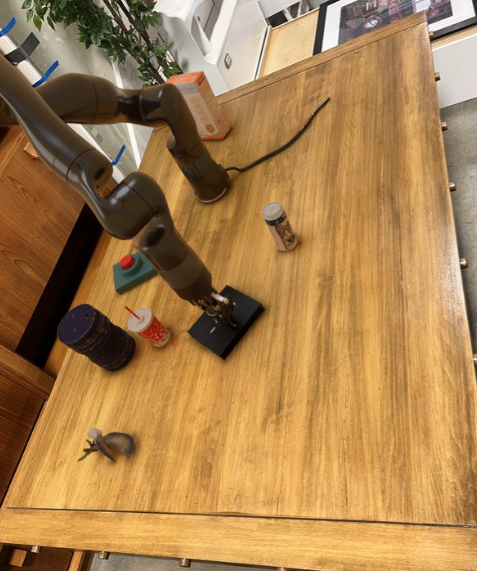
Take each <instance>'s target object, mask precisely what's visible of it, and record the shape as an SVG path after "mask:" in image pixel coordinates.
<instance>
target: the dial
mask: <svg viewBox="0 0 477 571" xmlns="http://www.w3.org/2000/svg"><path fill="white" fill-rule="evenodd" d="M212 306H213V305H212ZM220 310H221V308H219V311H220ZM206 313H207V314H208V315H209V316H210V318H211V319H212V320H213V321H214V322H215V323H216V324H217V325H219V326H223V325H226V324H225V323H224V321H223V320H222V319H221V318H220V316H219V315H218V314H217V313H215V312H211V311H210V310H209V309H208V308H207V307H206Z"/></svg>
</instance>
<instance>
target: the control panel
mask: <svg viewBox="0 0 477 571" xmlns="http://www.w3.org/2000/svg"><path fill="white" fill-rule="evenodd" d="M218 293H219V294H220V295H221V296H222V297H225V295H226V294H227V295H229V296H230V297H231V298H232V301H233V305H234V310H233V312H232V313H231V314H232V315H233V316H234V319H233V321H232V322H231V324H230V325H227V324H226V325H223V326H219V325H217V324H216V323H215V322H214V321H213V320H212V319H211V318H209V317H208V315H207V314H206V313H205V312H204V311H203V312H202V313H201V315H199V316H198V318H197V319H196V320H195V321H194V322H193V324H192V325H191V326H190V327H189V329H188V330H187V331H186V333H187V334H188V335H189V336H191V338H192V339H194V340H195V341H197V343H200V345H202V346H204V347H205V348H206V349H207V350H209V351H211V352H212V353H214V355H216V356H217V357H218V358H220V359H222V361H224V362H225V361H226V360H227V358H228V357H229V355H231V353H232V352H233V351H234V350H235V348H236V347H237V346H238V344H240V342H241V340H242V339H243V338H244V337H245V336H246V334H247V333H248V332H249V330H250V329H251V328H252V327H253V325H254V324H255V323H256V321H257V320H258V319H259V318H260V317H261V315H262V314H263V313H264V311H265V310H266V308H265V307H264V305H263V304H262V302H259V301H258V300H256V299H254V298H252V296H248V294H245V293H243V292H242V291H239V290H238V289H236V288H234V287H232V286H230V285H228V284H226V285H224V287H223V288H222V289H221V291H220V292H218Z"/></svg>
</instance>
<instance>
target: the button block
mask: <svg viewBox="0 0 477 571" xmlns="http://www.w3.org/2000/svg"><path fill="white" fill-rule="evenodd" d="M129 255H130V256H131V257H132V258H133V259H134V261H135V262H134V265H133V266H132V267H131V268H129V269H124V268H123V267H122V266H121V265H120V261H118V262H117V263H115V264H113V265H112V273H113V274H112V275H113V284H114V291H115V292H116V293H118V294H119V295H122V294H123V293H125V292H127V291H129V290H131V289H133V288H134V287H136V286H138V285H140V284H142V283H143V282H145V281H147V280H150V279H151V278H153V277H154V276H156V275H158V274H159V273H158V271H157V270H156V268H155V267H154V266H153V265H152V264H151V263H150V262H149V261H148V259H147V258H146V257H145V256H144V255H143V254H142V253H141V251H140V250H138V251H136V252H134V253H129Z"/></svg>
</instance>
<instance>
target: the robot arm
mask: <svg viewBox="0 0 477 571" xmlns="http://www.w3.org/2000/svg"><path fill="white" fill-rule="evenodd" d="M328 97H329V98H328V99H327V100H326V101H325V102H324V100H323V101H322V102H321V103H320V104H319V105H318V107H319V106H320V105H321V104H322V103H323V102H324V103H323V104H322V105H321V106H320V107H319V108H318V107H317V108H318V109H317V108H316V109H317V110H316V109H315V110H316V111H315V110H314V111H315V112H314V111H313V112H314V114H313V115H312V114H311V115H312V116H311V115H310V116H311V118H310V116H309V117H308V119H309V118H310V119H309V121H308V119H307V120H306V122H307V121H308V122H307V124H306V122H305V123H304V125H305V124H306V125H305V126H304V125H303V126H304V128H303V129H302V128H301V129H302V130H301V129H300V130H301V131H300V130H299V131H297V133H296V134H295V135H294V136H293V137H292V138H291V139H290V140H289V141H287V142H286V143H285V144H284V145H282V146H281V147H279V148H278V149H276V150H273V151H272V152H270V153H267V154H266V155H263V156H262V157H260V158H258V159H257V160H255V161H254V162H252V163H250V164H249V165H247V166H245V167H242V168H239V167H237V166H231V167H226V168H225V167H224V166H223V165H222V164H220V163H217V161H216V160H215V159H214V158H213V156H212V155H211V153H210V151H209V149H208V147H207V146H206V144H205V142H204V140H202V138H201V136H200V134H199V132H198V129H197V125H196V122H195V119H194V117H193V115H192V113H191V111H190V109H189V107H188V104H187V102H186V100H185V98H184V96H183V94H182V93H181V91H180V90H179V89H178V87H177V86H175V85H174V84H172V83H166V82H165V83H160V84H156V85H151V86H147V87H143V88H122V87H118V86H117V85H116V84H115V83H113V82H112V81H110V80H109V79H107V78H105V77H101V76H98V75H92V74H88V73H81V72H66V73H64V74H60V75H58V76H56V77H54V78H53V77H52V79H50V80H47V81H45V82H44V83H42V84H40V85H38V86H36V87H34V86H32V85H31V83H29V81H28V80H27V79H26V78H25V77H24V76H23V75H22V74H21V73H20V71H19V70H18V69H17V68H16V67H15V66H14V65H13V63H11V62H10V60H8V59H7V58H5V57H4V56H3V55H2V54H0V127H12V126H20V127H21V129H22V131H23V133H24V135H25V137H26V138H27V140H28V142H29V143H30V145H31V147H32V149H33V151H34V152H35V153H36V155H37V157H38V158H39V159H40V161H41V162H42V163H43V165H45V166H46V167H47V168H48V169H49V170H50V171H51V172H52V173H53V174H54V175H56V176H57V177H58V178H59V179H60V180H61V181H63V182H64V183H65V184H67V185H68V186H69V187H70V188H71V189H72V190H73V191H75V192H76V193H77V194H78V195H79V196H80V197H81V198H82V200H83V201H84V203H85V204H86V205H87V206H88V208H90V210H91V212H92V213H93V215H94V217H95V218H96V219H97V221H98V222H99V224H100V226H101V227H102V228H103V229H104V231H105V232H106V233H107V234H108V235H109V236H110V237H112V238H114V239H116V240H120V241H131V239H132V238H134V237H135V236H136V235H137V234H138V233H139V232H140V231H141V230H142V229H143V228H144V227H145V228H144V230H143V232H142V233H141V235H140V237H139V241H138V247H137V248H138V249H139V251H141V253H142V254H143V255H144V256H145V257H146V258H147V259H148V261H149V262H150V263H151V264H152V265H153V266H154V267H155V268H156V270H157V273H158V274H159V277H161V278H162V280H163V281H164V283H166V284H167V285H168V286H169V288H170V289H171V290H172V291H173V292H174V293H175V295H177V296H178V297H179V298H180V299H181V300H184V301H187V302H188V303H189V304H190V305H191V306H193V307H197V308H198V309H199V310H201V311H203V312H205V313H206V307H207V308H208V309H209V310H210V311H211V312H215V313H217V314H218V315H219V316H220V318H221V319H222V320H223V321H224V323H225V324H227V325H230V324H231V322H232V321H233V319H234V316H233V315H232V314H231V313H232V312H233V310H234V305H233V301H232V298H231V297H230V296H229V295H227V294H226V295H225V297H222V296H221V295H220V294H219V293H220V292H219V291H218V290H217V289H216V288H215V287H214V286H213V275H212V273H211V271H210V270H209V269H208V267H207V266H206V265H205V263H204V262H203V261H202V259H201V258H200V257H199V255H198V254H197V252H196V251H195V250H194V249H193V248H192V247H191V246H190V245H189V244H188V242H187V241H186V240H185V239H184V237H183V236H182V234H181V233H180V231H179V230H178V229H177V226H176V225H175V221H174V219H173V216H172V213H171V211H170V207H169V204H168V200H167V197H166V195H165V193H164V191H163V189H162V187H161V186H160V184H159V183H158V182H157V180H156V179H155V178H153V177H152V176H151V175H150V174H148V173H145V172H142V171H132V172H130V173H129V174H127V175H126V176H125V177H124V178H123V179H122V180H121V181H119V183H118V184H116V185H115V186H114V187H113V188H112V189H111V190H110V191H109V192H108V193H107V194H106V195H105V196H103V195H104V192H105V190H106V189H107V186H108V185H109V183H110V181H111V180H112V178H113V174H114V165H113V163H112V161H111V160H110V159H109V158H108V157H107V156H106V155H105V154H104V153H103V152H101V151H100V150H99V149H98V148H96V147H95V146H94V145H93V144H91V143H90V142H89V141H88V140H87V139H85V138H84V137H82V135H80V134H78V133H77V132H76V131H75V129H73V128H72V127H71V126H70V125H82V126H83V125H86V126H99V125H100V126H106V125H107V126H108V125H110V126H111V125H116V124H132V125H136V126H142V127H146V128H151V129H152V128H154V129H155V128H164V127H168V128H169V130H170V132H171V133H170V134H169V136H167V138H166V140H165V148H166V149H167V151H168V153H169V154H170V156H171V157H172V159H173V161H174V162H175V163H176V165H177V166H178V168H179V170H180V172H181V173H182V174H183V176H184V177H185V180H186V181H187V182H188V184H189V185H190V187H191V189H192V191H193V192H194V195H195V196H197V199H198V200H199V202H201V203H202V204H212V203H214V202H217V201H218V200H220V199H221V198H222V197H224V196H225V194H226V193H227V191H228V190H229V189H230V188H231V187H230V185H229V183H228V181H227V180H228V179H229V178H230V176H229V173H228V172H229V171H237V172H240V173H241V172H244V171H247V170H250V169H251V168H253V167H255V166H256V165H257V164H259V163H261V162H262V161H264V160H266V159H268V158H269V157H272V156H273V155H276V154H277V153H280V152H281V151H283V150H285V149H286V148H287V147H289V146H291V145H292V143H294V142H295V141H296V140H297V139H298V137H299V136H301V134H302V133H303V132H304V131H305V130H306V129H307V127H308V126H309V124H310V123H311V121H312V120H313V118H314V117H315V116H316V114H317V113H318V112H319V111H320V110H321V109H322V108H323V107H324V106H325V105H326V104H327V103H328V102H329V101H330V100H331V97H330V96H328ZM69 124H70V125H69ZM212 305H213V306H212ZM219 308H221V310H220V311H219ZM206 314H207V313H206ZM207 315H208V314H207ZM208 317H209V318H210V316H209V315H208Z"/></svg>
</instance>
